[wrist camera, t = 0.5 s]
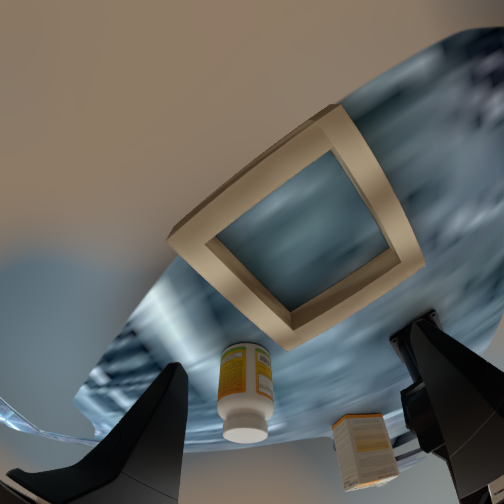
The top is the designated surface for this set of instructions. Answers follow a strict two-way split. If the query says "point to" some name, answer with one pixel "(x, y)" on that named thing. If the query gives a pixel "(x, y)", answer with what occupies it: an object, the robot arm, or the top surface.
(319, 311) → the tan square frame
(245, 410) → the supplement bottle
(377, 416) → the supplement box
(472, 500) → the robot arm
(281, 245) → the top surface
